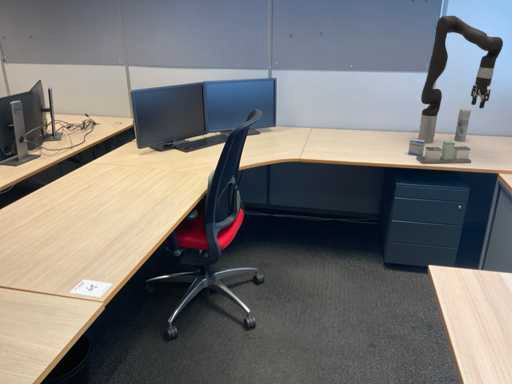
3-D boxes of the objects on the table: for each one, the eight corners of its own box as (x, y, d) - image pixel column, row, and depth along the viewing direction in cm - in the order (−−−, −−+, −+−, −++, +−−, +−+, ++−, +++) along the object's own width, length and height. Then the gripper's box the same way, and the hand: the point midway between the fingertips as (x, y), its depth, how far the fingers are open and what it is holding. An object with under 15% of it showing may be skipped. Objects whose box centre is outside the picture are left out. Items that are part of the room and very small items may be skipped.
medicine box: (407, 154, 250) (409, 140, 246) (409, 152, 253) (411, 138, 250) (422, 156, 246) (424, 141, 243) (423, 154, 250) (425, 139, 247)
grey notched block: (416, 158, 242) (417, 146, 239) (462, 158, 243) (465, 145, 240) (422, 163, 234) (424, 150, 231) (470, 163, 234) (473, 149, 232)
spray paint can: (464, 139, 279) (469, 108, 272) (466, 142, 273) (471, 110, 266) (453, 138, 281) (458, 108, 273) (455, 141, 275) (460, 110, 267)
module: (440, 157, 239) (443, 141, 236) (448, 157, 240) (451, 141, 236) (444, 159, 236) (446, 143, 232) (452, 159, 236) (455, 143, 232)
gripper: (470, 74, 235) (464, 103, 241) (484, 78, 222) (477, 109, 228) (484, 74, 235) (477, 103, 242) (498, 78, 222) (490, 109, 229)
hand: (477, 106), depth 235 cm, fingers open, 8 cm apart
